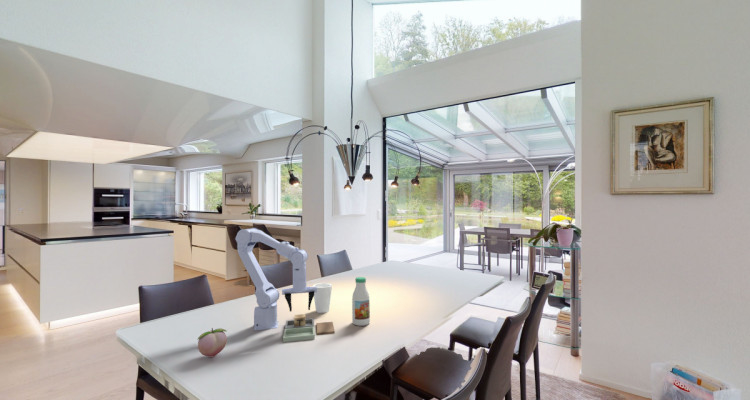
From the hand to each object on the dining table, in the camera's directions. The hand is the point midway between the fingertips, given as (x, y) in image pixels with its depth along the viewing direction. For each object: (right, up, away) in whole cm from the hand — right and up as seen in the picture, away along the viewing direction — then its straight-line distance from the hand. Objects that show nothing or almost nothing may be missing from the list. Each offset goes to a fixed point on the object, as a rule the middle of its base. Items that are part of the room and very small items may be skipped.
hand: (299, 310), depth 137 cm
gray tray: (0, -8, 0) cm, 8 cm away
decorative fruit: (-25, -8, -26) cm, 37 cm away
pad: (+11, -7, -3) cm, 14 cm away
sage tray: (+2, -7, -10) cm, 13 cm away
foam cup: (+6, -8, +21) cm, 23 cm away
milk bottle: (+26, -8, +4) cm, 28 cm away
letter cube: (0, -7, 0) cm, 7 cm away
